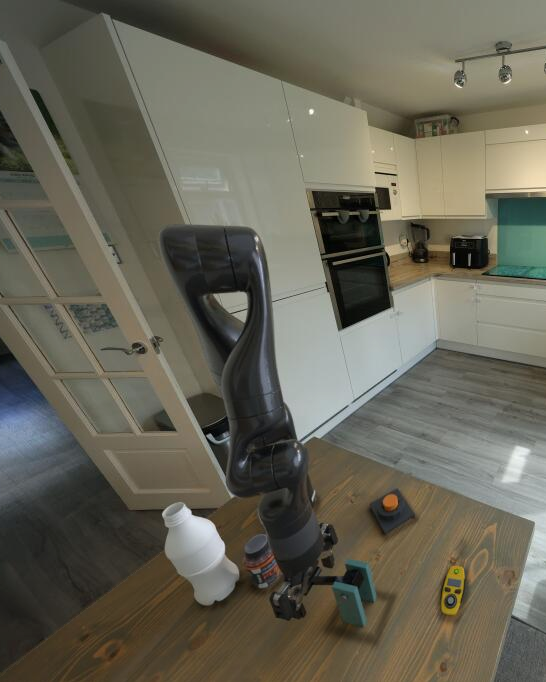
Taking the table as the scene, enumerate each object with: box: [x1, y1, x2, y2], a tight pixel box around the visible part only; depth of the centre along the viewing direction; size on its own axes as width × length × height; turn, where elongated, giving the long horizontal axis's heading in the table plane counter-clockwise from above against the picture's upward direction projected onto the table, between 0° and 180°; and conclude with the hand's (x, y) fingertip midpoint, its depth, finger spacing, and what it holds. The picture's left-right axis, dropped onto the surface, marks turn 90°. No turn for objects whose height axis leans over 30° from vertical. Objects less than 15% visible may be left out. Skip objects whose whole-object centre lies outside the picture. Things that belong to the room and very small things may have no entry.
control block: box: [368, 487, 416, 536], centre depth 80 cm, size 10×8×4 cm
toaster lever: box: [303, 565, 364, 597], centre depth 59 cm, size 12×4×2 cm, turn 79°
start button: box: [383, 494, 398, 511], centre depth 79 cm, size 4×4×2 cm
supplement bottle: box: [242, 533, 283, 589], centre depth 65 cm, size 6×6×11 cm
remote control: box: [440, 565, 466, 616], centre depth 67 cm, size 5×2×15 cm
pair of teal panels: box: [331, 558, 378, 628], centre depth 59 cm, size 10×7×13 cm
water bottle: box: [161, 501, 240, 606], centre depth 60 cm, size 7×7×25 cm
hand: (315, 589), depth 61 cm, fingers open, 8 cm apart
